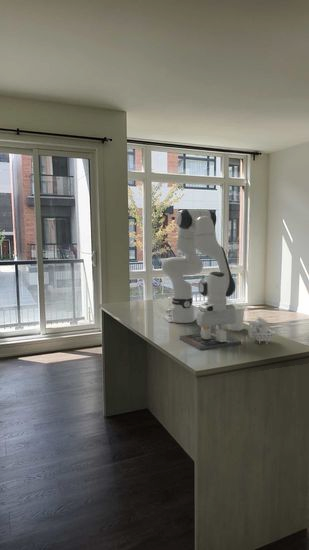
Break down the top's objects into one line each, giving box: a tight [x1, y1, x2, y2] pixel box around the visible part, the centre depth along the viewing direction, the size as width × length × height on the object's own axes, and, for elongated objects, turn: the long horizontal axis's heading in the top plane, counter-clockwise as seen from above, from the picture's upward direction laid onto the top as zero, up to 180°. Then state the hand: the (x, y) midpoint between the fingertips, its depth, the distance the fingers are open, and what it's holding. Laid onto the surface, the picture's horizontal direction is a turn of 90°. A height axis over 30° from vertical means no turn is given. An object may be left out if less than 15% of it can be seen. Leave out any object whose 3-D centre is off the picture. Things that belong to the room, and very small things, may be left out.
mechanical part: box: [247, 316, 276, 345], centre depth 168 cm, size 11×12×12 cm
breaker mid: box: [200, 327, 212, 339], centre depth 169 cm, size 4×3×5 cm
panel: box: [179, 331, 242, 351], centre depth 170 cm, size 20×22×2 cm
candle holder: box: [226, 305, 245, 332], centre depth 194 cm, size 10×10×12 cm
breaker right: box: [216, 328, 227, 342], centre depth 164 cm, size 4×3×5 cm
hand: (216, 333), depth 171 cm, fingers closed
